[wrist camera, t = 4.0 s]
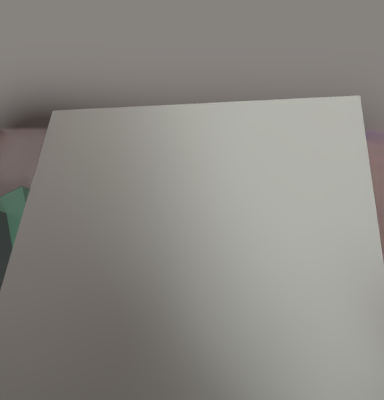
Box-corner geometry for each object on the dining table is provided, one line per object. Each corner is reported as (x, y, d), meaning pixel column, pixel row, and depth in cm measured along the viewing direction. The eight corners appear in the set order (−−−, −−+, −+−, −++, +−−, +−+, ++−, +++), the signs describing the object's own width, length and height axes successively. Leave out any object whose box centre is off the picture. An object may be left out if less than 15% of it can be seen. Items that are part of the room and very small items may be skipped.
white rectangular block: (270, 337, 14) (429, 581, 2) (182, 327, 15) (-49, 459, 3) (269, 245, 16) (358, 89, 4) (190, 241, 17) (54, 105, 5)
